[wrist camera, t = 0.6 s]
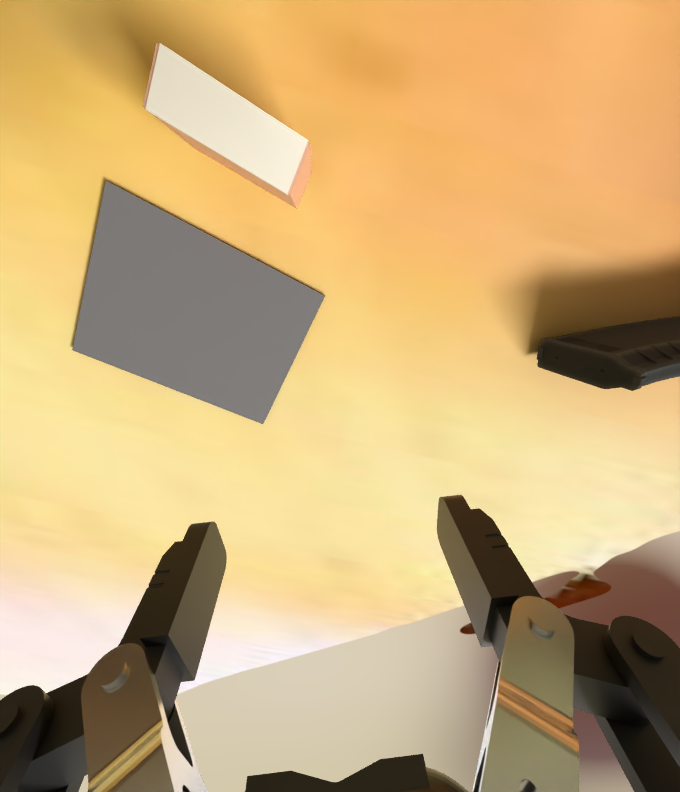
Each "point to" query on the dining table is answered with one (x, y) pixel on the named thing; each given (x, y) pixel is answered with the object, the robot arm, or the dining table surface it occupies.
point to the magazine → (616, 354)
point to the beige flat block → (227, 127)
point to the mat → (189, 309)
